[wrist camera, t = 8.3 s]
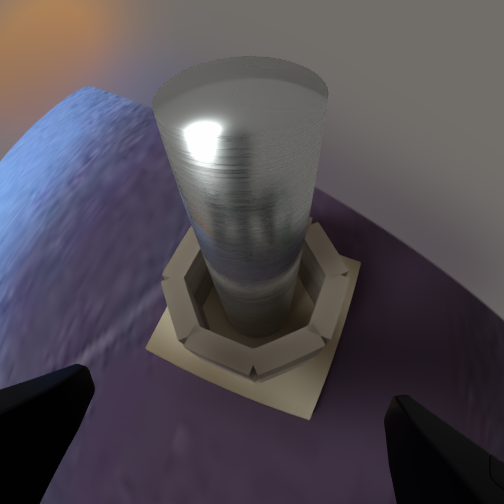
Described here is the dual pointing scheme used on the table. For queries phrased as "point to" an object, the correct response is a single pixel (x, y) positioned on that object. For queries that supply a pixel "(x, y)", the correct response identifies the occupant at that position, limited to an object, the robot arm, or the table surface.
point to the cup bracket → (258, 349)
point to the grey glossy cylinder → (246, 175)
